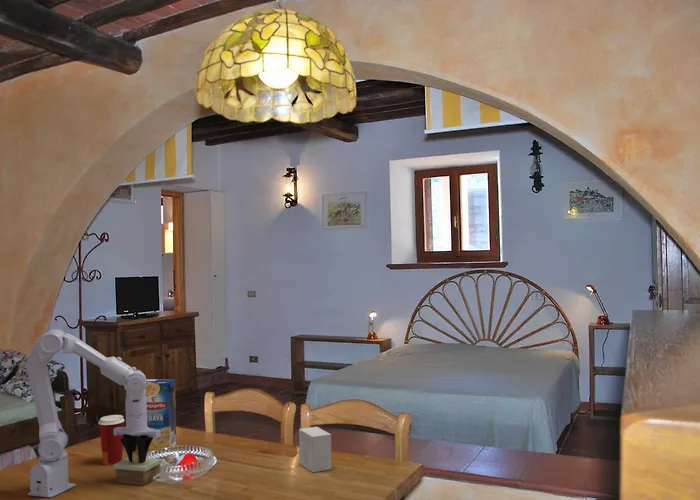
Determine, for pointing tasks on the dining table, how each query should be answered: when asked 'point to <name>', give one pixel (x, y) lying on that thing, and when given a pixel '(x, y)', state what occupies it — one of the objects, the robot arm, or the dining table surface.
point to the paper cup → (111, 439)
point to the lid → (137, 463)
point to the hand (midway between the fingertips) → (137, 461)
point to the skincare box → (315, 449)
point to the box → (136, 476)
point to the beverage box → (161, 411)
